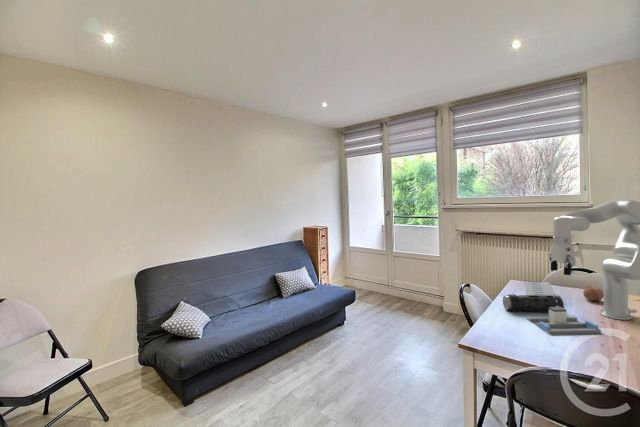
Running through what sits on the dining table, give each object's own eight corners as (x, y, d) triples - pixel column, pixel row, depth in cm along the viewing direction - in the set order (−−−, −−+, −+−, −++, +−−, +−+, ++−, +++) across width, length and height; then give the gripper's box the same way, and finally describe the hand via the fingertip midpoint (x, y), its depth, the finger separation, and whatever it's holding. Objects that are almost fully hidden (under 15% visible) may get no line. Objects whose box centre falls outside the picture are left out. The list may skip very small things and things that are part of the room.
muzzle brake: (564, 316, 168) (564, 298, 167) (508, 315, 174) (508, 297, 173) (554, 310, 177) (554, 293, 177) (502, 308, 183) (502, 292, 182)
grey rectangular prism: (560, 321, 160) (560, 306, 159) (566, 324, 156) (566, 309, 155) (548, 321, 160) (548, 307, 160) (554, 325, 156) (554, 309, 156)
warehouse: (524, 290, 215) (524, 279, 214) (549, 293, 207) (549, 282, 207) (526, 304, 190) (526, 292, 189) (555, 307, 182) (554, 295, 181)
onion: (585, 303, 192) (578, 287, 196) (603, 301, 189) (596, 285, 193) (590, 303, 184) (582, 286, 188) (609, 300, 181) (601, 283, 185)
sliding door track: (571, 319, 164) (571, 312, 163) (604, 336, 144) (604, 328, 144) (526, 320, 165) (526, 313, 165) (552, 337, 145) (552, 329, 145)
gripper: (582, 243, 150) (580, 277, 151) (557, 238, 167) (556, 268, 168) (566, 242, 151) (565, 276, 151) (543, 238, 168) (542, 268, 169)
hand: (560, 272), depth 160 cm, fingers open, 9 cm apart
